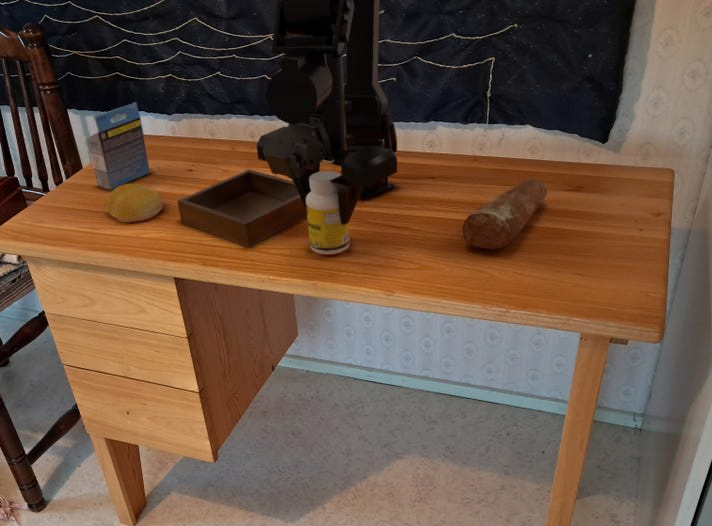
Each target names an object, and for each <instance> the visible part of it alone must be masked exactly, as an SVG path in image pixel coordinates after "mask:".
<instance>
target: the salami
mask: <svg viewBox="0 0 712 526" xmlns="http://www.w3.org/2000/svg"><path fill="white" fill-rule="evenodd" d="M547 194H548V188H547V185H546V184H545V183H544V182H543V181H542V180H540V179H536V178H529V179H527V180H524V181H523V182H521V183H520V184H517V185H516V186H514V187H512V188H511V189H509V190H507V191H505V192H504V193H501V194H500V195H498V196H497V197H495V198H493V199H492V200H490V201H488V202H486V203H485V204H484V205H482V206H480V207H479V208H477V209H475V210H474V211H473V212H472V213H470V214H469V215H468V216H467V218H465V220H464V222H463V225H462V235H463V239H464V241H465V243H466V244H468V245H469V246H472V247H476V248H481V249H487V250H497V249H502V248H504V247H506V246H507V245H509V244H510V243H511V242H512V241H514V239H515V238H516V236H518V234H520V233H521V231H522V230H523V228H524V227H525V226H526V225H527V224H528V223H529V221H530V219H531V217H532V216H533V215H534V213H536V211H537V210H538V208H540V205H541V204H542V202H543V201H544V200H545V199H546V196H547Z"/></svg>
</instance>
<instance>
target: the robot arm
mask: <svg viewBox="0 0 712 526" xmlns="http://www.w3.org/2000/svg"><path fill="white" fill-rule="evenodd" d="M276 1H277V2H276V9H275V18H274V27H273V35H272V44H271V53H272V55H282V56H281V57H280V59H279V62H280V63H279V64H280V69H279V70H277V72H275V73H274V74H273V75H272V76H271V78H270V79H269V81H268V83H267V88H266V91H265V99H266V103H267V106H268V108H269V110H270V112H271V113H272V114H273V115H274V116H275V117H276V119H278V120H279V121H281V122H284V123H285V124H288V125H287V126H281V127H280V128H277V129H274V130H272V131H269V132H266V133H265V134H263V135H260V136H259V139H258V141H257V143H256V152H257V159H258V160H261V161H265V162H267V165H268V167H269V169H270V172H271V174H273V175H276V176H277V175H281V176H284V177H286V178H288V179H291V181H293V182H294V184H295V186H296V188H297V190H298V192H299V194H300V197H301V199H302V201H303V203H304V205H305V208H306V197H307V195H308V193H309V192H311V189H310V183H309V178H310V176H311V175H312V174H314V173H317V172H321V171H320V169H321V163H325V164H330V165H333V166H336V167H337V166H338V167H340V176H338V177H336V178H334V179H332V180H330V182H331V183H332V184H333V185H334V186H335V187H336V188H337V190H338V201H339V213H340V219H341V224H342V225H345V224H347V223H348V222H349V223H350V220H351V219H352V216H353V213H354V211H355V209H356V206H357V204H358V202H359V199H361V200H367V199H370V198H372V197H373V198H374V197H375V196H379V195H380V194H383V193H385V192H388V191H391V190H393V189H395V188H396V184H395V183H393V182H390V181H389V177H391V176H393V175H395V174H396V173H398V157H397V154H396V153H397V151H398V136H397V130H396V126H395V123H394V121H393V117H392V115H391V113H390V112H389V99H388V97H387V95H386V94H385V92H384V91H383V89H382V87H381V85H380V83H379V80H378V79H379V78H378V77H379V75H378V74H379V72H378V71H379V41H380V40H379V38H380V35H379V33H380V0H276ZM288 34H289V35H290V36H288ZM344 47H345V79H344V62H343V50H344ZM344 80H345V81H344ZM344 82H345V83H344ZM306 210H307V209H306Z"/></svg>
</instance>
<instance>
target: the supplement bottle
mask: <svg viewBox="0 0 712 526" xmlns="http://www.w3.org/2000/svg"><path fill="white" fill-rule="evenodd" d="M340 175H341V173H339V172H337V171H333V170H321V171H319V172H317V173H314V174H312V175H311V176H310V178H309V183H310V189H311V192H309V193H308V195H307V197H306V209H307V217H306V219H307V230H308V240H309V241H308V242H309V247H310V250H312V251H313V252H314V253H317V254H319V255H324V256H325V255H326V256H327V255H336V254H340V253H342V252H345V251H346V250H348V248H349V247H350V245H351V237H350V236H351V235H350V234H351V233H350V221H349V222H348V223H347V224H345V225H342V224H341V219H340V213H339V201H338V190H337V188H336V187H335V186H334V185H333V184H332V183H331V182H330V180H332V179H334V178H336V177H338V176H340Z"/></svg>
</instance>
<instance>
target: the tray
mask: <svg viewBox="0 0 712 526" xmlns="http://www.w3.org/2000/svg"><path fill="white" fill-rule="evenodd" d="M177 207H178V212H179V219H180V223H181V224H184V225H186V226H188V227H192V228H194V229H197V230H200V231H203V232H205V233H208V234H211V235H213V236H216V237H219V238H222V239H225V240H228V241H229V242H232V243H236V244H239V245H240V246H244V247H247V248H250V247H252V246H254V245H256V244H258V243H260V242H261V241H262V242H263V241H264V240H265V239H266V240H267V239H268V238H270V237H271V236H273V235H276V234H277V233H279V232H281V231H283V230H285V229H286V228H288V227H291V226H293V225H294V224H296V223H298V222H300V221H302V220H304V219H307V210H306V208H305V205H304V203H303V201H302V199H301V197H300V194H299V192H298V190H297V188H296V186H295V184H294V182H293V180H289V179H286V178H282V177H278V176H275V175H271V174H268V173H264V172H260V171H256V170H253V169H250V168H249V169H246V170H244V171H241V172H240V173H238V174H235V175H233V176H231V177H228V178H226V179H224V180H222V181H219V182H217V183H214V184H213V185H210V186H208V187H205V188H203V189H201V190H199V191H196V192H194V193H192V194H190V195H187V196H185V197H183V198H181V199H177Z"/></svg>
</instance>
